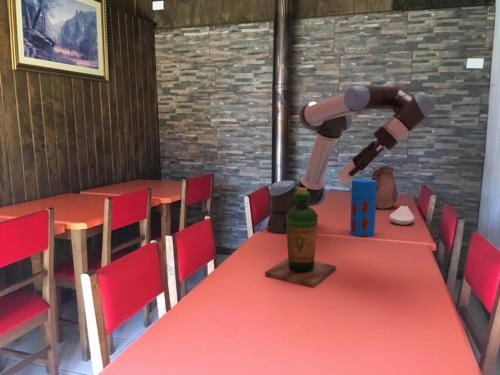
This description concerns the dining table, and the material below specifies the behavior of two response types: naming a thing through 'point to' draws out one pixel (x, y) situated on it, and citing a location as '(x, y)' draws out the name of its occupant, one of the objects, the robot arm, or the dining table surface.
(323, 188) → the robot arm
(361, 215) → the thermos
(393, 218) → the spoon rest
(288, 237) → the bottle
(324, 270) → the walnut board
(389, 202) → the ceramic pitcher
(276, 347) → the dining table surface
